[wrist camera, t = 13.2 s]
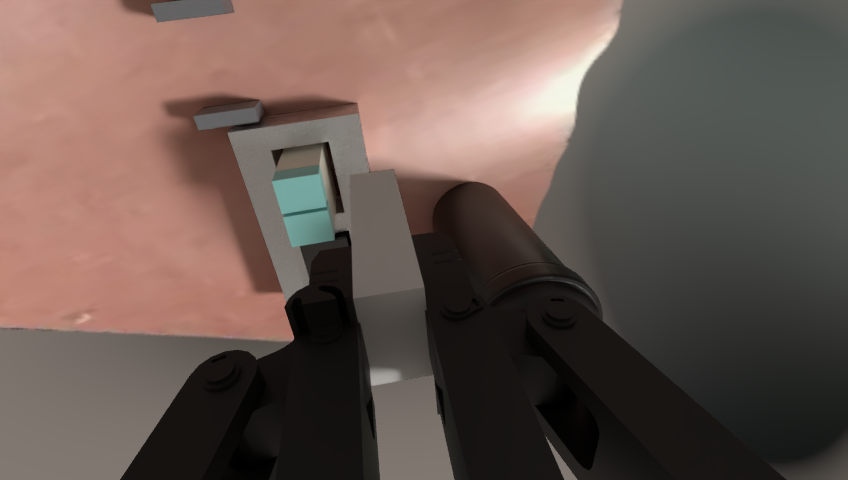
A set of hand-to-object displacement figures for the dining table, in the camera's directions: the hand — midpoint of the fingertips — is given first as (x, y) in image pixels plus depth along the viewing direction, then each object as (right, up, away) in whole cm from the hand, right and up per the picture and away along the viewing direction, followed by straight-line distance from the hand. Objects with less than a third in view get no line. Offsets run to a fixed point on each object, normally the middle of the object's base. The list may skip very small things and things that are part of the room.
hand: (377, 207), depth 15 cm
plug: (-9, +6, +27) cm, 30 cm away
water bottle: (+7, +2, +33) cm, 34 cm away
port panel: (-9, +2, +30) cm, 31 cm away
